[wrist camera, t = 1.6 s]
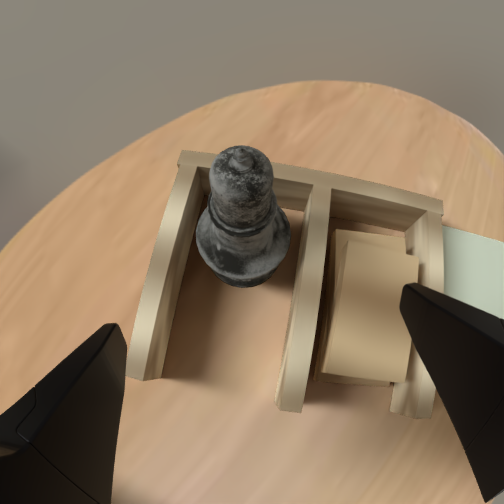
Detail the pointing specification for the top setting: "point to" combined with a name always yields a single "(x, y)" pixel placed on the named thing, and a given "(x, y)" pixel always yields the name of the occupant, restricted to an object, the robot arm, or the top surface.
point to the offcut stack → (365, 310)
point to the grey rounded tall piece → (242, 219)
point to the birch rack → (307, 272)
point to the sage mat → (474, 270)
